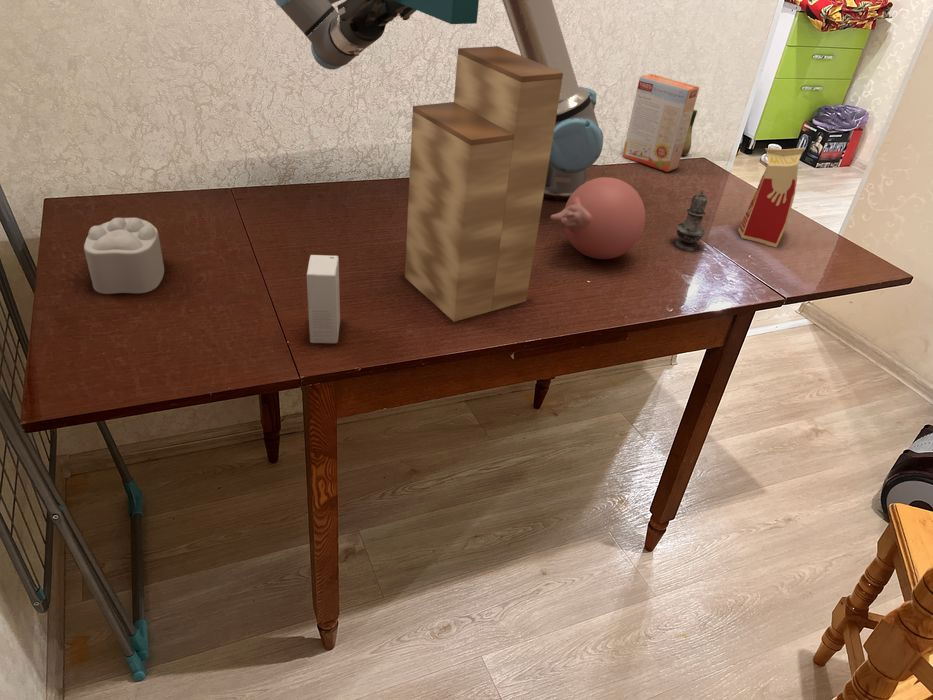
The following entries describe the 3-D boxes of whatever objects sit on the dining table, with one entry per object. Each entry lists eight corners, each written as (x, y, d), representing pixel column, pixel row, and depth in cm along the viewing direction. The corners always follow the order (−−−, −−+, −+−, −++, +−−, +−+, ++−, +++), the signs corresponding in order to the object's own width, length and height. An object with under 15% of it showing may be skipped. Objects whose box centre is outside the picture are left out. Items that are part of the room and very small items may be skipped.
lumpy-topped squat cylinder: (87, 294, 112) (75, 244, 107) (105, 255, 122) (95, 208, 117) (157, 293, 114) (149, 244, 109) (169, 254, 124) (162, 209, 119)
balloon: (523, 244, 141) (534, 169, 132) (607, 233, 148) (623, 162, 139) (561, 281, 129) (576, 203, 121) (650, 268, 137) (671, 193, 128)
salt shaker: (701, 253, 145) (719, 198, 138) (672, 248, 145) (688, 193, 138) (699, 241, 149) (716, 187, 142) (671, 236, 150) (687, 182, 143)
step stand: (404, 277, 125) (415, 50, 104) (474, 260, 133) (497, 45, 111) (453, 322, 115) (477, 80, 93) (526, 301, 123) (563, 72, 101)
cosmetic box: (312, 321, 111) (310, 253, 105) (340, 322, 112) (339, 254, 105) (308, 343, 106) (305, 273, 100) (337, 344, 107) (336, 275, 100)
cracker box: (678, 168, 185) (701, 86, 173) (667, 173, 181) (689, 89, 169) (633, 152, 192) (651, 72, 180) (621, 156, 189) (639, 75, 177)
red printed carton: (782, 232, 157) (816, 144, 146) (778, 248, 150) (813, 156, 139) (740, 222, 160) (770, 134, 148) (734, 237, 153) (765, 146, 141)
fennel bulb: (683, 150, 197) (695, 107, 191) (693, 157, 194) (705, 113, 187) (665, 151, 196) (677, 107, 189) (675, 157, 192) (687, 113, 185)
